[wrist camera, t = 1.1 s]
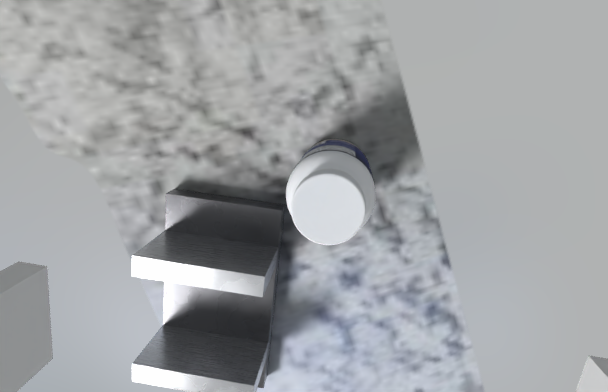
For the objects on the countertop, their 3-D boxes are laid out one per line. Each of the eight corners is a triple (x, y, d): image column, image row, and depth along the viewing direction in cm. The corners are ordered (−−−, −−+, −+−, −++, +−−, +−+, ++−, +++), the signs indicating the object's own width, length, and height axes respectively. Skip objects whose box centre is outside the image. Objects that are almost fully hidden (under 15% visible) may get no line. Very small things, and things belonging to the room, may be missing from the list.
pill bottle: (367, 210, 31) (375, 262, 22) (298, 205, 32) (276, 254, 22) (373, 139, 30) (384, 163, 20) (300, 135, 30) (277, 157, 21)
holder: (174, 188, 32) (131, 213, 26) (285, 204, 32) (268, 233, 25) (169, 358, 37) (132, 414, 30) (266, 376, 36) (249, 436, 30)
